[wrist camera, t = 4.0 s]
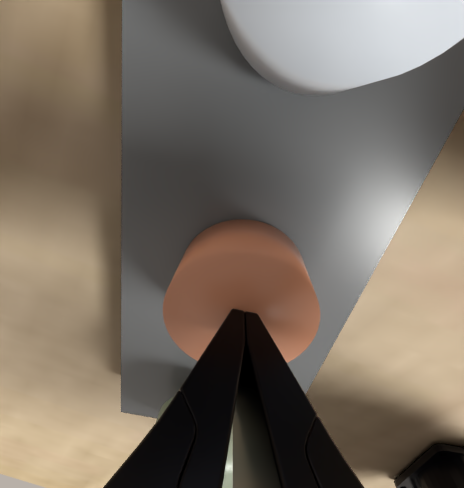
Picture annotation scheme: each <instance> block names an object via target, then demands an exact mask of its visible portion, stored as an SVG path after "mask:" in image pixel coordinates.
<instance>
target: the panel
mask: <svg viewBox="0 0 464 488" xmlns="http://www.w3.org/2000/svg"><path fill="white" fill-rule="evenodd" d="M463 110H464V38H463V39H462V40H460V41H459V42H458V43H456V44H455V45H453V46H452V47H451V48H449V49H448V50H446V51H445V52H444V53H442V54H440V55H439V56H437V57H435V58H433V59H432V60H430V61H428V62H426V63H425V64H423V65H421V66H419V67H417V68H414V69H412V70H410V71H407V72H405V73H403V74H400V75H397V76H394V77H391V78H387V79H384V80H380V81H377V82H373V83H370V84H366V85H363V86H359V87H355V88H352V89H348V90H345V91H341V92H338V93H334V94H327V95H302V94H296V93H293V92H289V91H286V90H283V89H281V88H279V87H277V86H275V85H273V84H272V83H270V82H269V81H268V80H266V79H265V78H263V77H262V76H261V75H260V74H259V73H258V72H257V71H256V70H254V69H253V68H252V67H251V65H250V64H249V63H248V62H247V60H246V59H245V58H244V56H243V55H242V53H241V52H240V50H239V48H238V47H237V45H236V43H235V42H234V39H233V37H232V35H231V33H230V30H229V28H228V25H227V22H226V19H225V16H224V13H223V9H222V5H221V1H220V0H122V208H121V412H124V413H130V414H135V415H141V416H146V417H152V418H158V414H159V411H160V409H161V407H162V405H163V404H164V403H165V402H166V401H168V400H169V399H171V398H173V397H174V396H175V395H176V393H177V392H178V391H179V389H180V387H181V386H182V384H183V383H184V381H185V380H186V378H187V377H188V375H189V373H190V372H191V370H192V369H193V367H194V366H195V364H196V363H197V360H195V359H193V358H192V357H190V356H189V355H187V354H186V353H185V352H184V351H182V350H181V349H180V348H179V347H178V346H177V344H176V343H175V342H174V341H173V339H172V338H171V336H170V335H169V333H168V331H167V329H166V326H165V323H164V319H163V302H164V297H165V294H166V292H167V289H168V287H169V285H170V283H171V281H172V279H173V276H174V274H175V272H176V270H177V268H178V266H179V264H180V262H181V260H182V258H183V255H184V253H185V251H186V249H187V248H188V246H189V244H190V243H191V242H192V241H193V239H194V238H195V237H196V236H197V235H198V234H200V233H201V232H202V231H204V230H205V229H207V228H209V227H211V226H213V225H215V224H218V223H221V222H224V221H229V220H237V219H245V220H254V221H259V222H263V223H266V224H268V225H271V226H273V227H275V228H277V229H278V230H280V231H282V232H283V233H284V234H285V235H287V236H288V237H289V238H290V239H291V240H292V241H293V243H294V244H295V245H296V247H297V248H298V250H299V252H300V254H301V256H302V259H303V262H304V264H305V267H306V270H307V272H308V275H309V277H310V280H311V283H312V285H313V288H314V291H315V293H316V296H317V299H318V302H319V306H320V323H319V328H318V331H317V333H316V336H315V337H314V339H313V341H312V342H311V344H310V345H309V346H308V347H307V349H306V350H304V351H303V352H302V353H301V354H300V355H299V356H297V357H296V358H295V359H293V360H291V361H290V362H288V363H287V364H288V366H289V367H290V369H291V371H292V372H293V374H294V376H295V377H296V379H297V381H298V383H299V384H300V386H301V388H302V389H303V391H304V393H305V394H306V393H307V391H308V389H309V387H310V385H311V384H312V382H313V380H314V378H315V376H316V375H317V373H318V371H319V369H320V367H321V366H322V364H323V362H324V360H325V358H326V357H327V355H328V353H329V351H330V349H331V348H332V346H333V344H334V342H335V340H336V339H337V337H338V335H339V333H340V331H341V330H342V328H343V326H344V324H345V322H346V321H347V319H348V317H349V315H350V313H351V312H352V310H353V308H354V306H355V304H356V303H357V301H358V299H359V297H360V295H361V294H362V292H363V290H364V288H365V286H366V285H367V283H368V281H369V279H370V277H371V276H372V274H373V272H374V270H375V268H376V267H377V265H378V263H379V261H380V259H381V258H382V256H383V254H384V252H385V250H386V249H387V247H388V245H389V243H390V241H391V239H392V238H393V236H394V234H395V232H396V230H397V229H398V227H399V225H400V223H401V221H402V220H403V218H404V216H405V214H406V212H407V211H408V209H409V207H410V205H411V203H412V202H413V200H414V198H415V196H416V194H417V193H418V191H419V189H420V187H421V185H422V184H423V182H424V180H425V178H426V176H427V175H428V173H429V171H430V169H431V167H432V166H433V164H434V162H435V160H436V158H437V157H438V155H439V153H440V151H441V149H442V148H443V146H444V144H445V142H446V140H447V139H448V137H449V135H450V133H451V131H452V130H453V128H454V126H455V124H456V122H457V121H458V119H459V117H460V115H461V113H462V112H463Z"/></svg>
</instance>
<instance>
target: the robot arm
mask: <svg viewBox="0 0 464 488" xmlns="http://www.w3.org/2000/svg"><path fill="white" fill-rule="evenodd" d="M316 416H317V413H316V411H315V410H314V408H313V406H312V404H311V403H310V401H309V399H308V398H307V396H306V394H305V393H304V391H303V389H302V388H301V386H300V384H299V383H298V381H297V379H296V377H295V376H294V374H293V372H292V371H291V369H290V367H289V366H288V364H287V362H286V361H285V359H284V357H283V356H282V354H281V352H280V350H279V349H278V347H277V345H276V344H275V342H274V340H273V339H272V337H271V335H270V334H269V332H268V330H267V329H266V327H265V325H264V323H263V322H262V320H261V318H260V317H259V315H258V314H257V313H253V312H248V311H246V312H245V313H244V311H243V310H238V309H231V311H230V312H229V314H228V315H227V317H226V318H225V320H224V321H223V323H222V325H221V326H220V328H219V329H218V331H217V332H216V334H215V335H214V337H213V338H212V340H211V341H210V343H209V344H208V346H207V347H206V349H205V351H204V352H203V354H202V355H201V357H200V358H199V360H198V361H197V363H196V364H195V366H194V367H193V369H192V370H191V372H190V373H189V375H188V377H187V378H186V380H185V381H184V383H183V384H182V386H181V387H180V389H179V391H178V392H177V393H176V395H175V396H174V398H173V399H172V401H171V402H170V404H169V405H168V407H167V408H166V409H165V411H164V412H163V414H162V415H161V417H160V418H159V419H158V421H157V422H156V424H155V425H154V426H153V428H152V429H151V430H150V431H149V433H148V434H147V435H146V436H145V438H144V439H143V440H142V441H141V443H140V444H139V445H138V447H137V448H136V449H135V450H134V451H133V453H132V454H131V455H130V456H129V457H128V459H127V460H126V461H125V462H124V463H123V464H122V466H121V467H120V468H119V469H118V470H117V472H116V473H115V474H114V475H113V476H112V478H111V479H110V480H109V481H108V482H107V484H106V485H105V486H104V487H103V488H222V486H223V480H224V473H225V467H226V461H227V455H228V449H229V443H230V436H231V430H232V424H233V488H364V487H363V485H362V484H361V482H360V481H359V479H358V478H357V476H356V475H355V473H354V472H353V470H352V469H351V467H350V466H349V464H348V463H347V461H346V460H345V458H344V457H343V455H342V454H341V452H340V451H339V449H338V447H337V446H336V444H335V443H334V441H333V439H332V438H331V436H330V434H329V433H328V431H327V430H326V428H325V426H324V424H323V423H322V421H321V419H320V418H319V417H316ZM394 483H395V486H396V488H464V448H461V447H456V446H451V445H445V444H436V445H434V446H432V447H431V448H430V449H429V450H428V451H427V452H426V453H424V454H423V455H422V456H421V457H420V458H419V459H418V460H417V461H416V462H414V463H413V464H412V465H411V466H410V467H409V468H408V469H407V470H406V471H405V472H403V473H402V474H401V475H400V476H399V477H398V478H397V479H396V480H395V481H394Z"/></svg>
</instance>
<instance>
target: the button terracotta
mask: <svg viewBox="0 0 464 488" xmlns="http://www.w3.org/2000/svg"><path fill="white" fill-rule="evenodd" d="M231 309H238V310H243V311H244V313H245V312H246V311H248V312H253V313H257V314H258V315H259V317H260V318H261V320H262V322H263V323H264V325H265V327H266V329H267V330H268V332H269V334H270V335H271V337H272V339H273V340H274V342H275V344H276V345H277V347H278V349H279V350H280V352H281V354H282V356H283V357H284V359H285V361H286V362H287V363H288V362H290V361H291V360H293V359H295V358H296V357H297V356H299V355H300V354H301V353H302V352H303V351H304V350H306V349H307V347H308V346H309V345H310V344H311V342H312V341H313V339H314V337H315V336H316V333H317V331H318V328H319V323H320V306H319V302H318V299H317V296H316V293H315V291H314V288H313V285H312V283H311V280H310V277H309V275H308V272H307V270H306V267H305V264H304V262H303V259H302V256H301V254H300V252H299V250H298V248H297V247H296V245H295V244H294V243H293V241H292V240H291V239H290V238H289V237H288V236H287V235H285V234H284V233H283V232H282V231H280V230H278V229H277V228H275V227H273V226H271V225H268V224H266V223H263V222H259V221H254V220H245V219H237V220H229V221H224V222H221V223H218V224H215V225H213V226H211V227H209V228H207V229H205V230H204V231H202V232H201V233H200V234H198V235H197V236H196V237H195V238H194V239H193V241H192V242H191V243H190V244H189V246H188V248H187V249H186V251H185V253H184V255H183V258H182V260H181V262H180V264H179V266H178V268H177V270H176V272H175V274H174V276H173V279H172V281H171V283H170V285H169V287H168V289H167V292H166V294H165V297H164V302H163V319H164V323H165V326H166V329H167V331H168V333H169V335H170V336H171V338H172V339H173V341H174V342H175V343H176V344H177V346H178V347H179V348H180V349H181V350H182V351H184V352H185V353H186V354H187V355H189V356H190V357H192V358H193V359H195V360H197V361H198V360H199V358H200V357H201V355H202V354H203V352H204V351H205V349H206V347H207V346H208V344H209V343H210V341H211V340H212V338H213V337H214V335H215V334H216V332H217V331H218V329H219V328H220V326H221V325H222V323H223V321H224V320H225V318H226V317H227V315H228V314H229V312H230V311H231Z"/></svg>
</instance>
